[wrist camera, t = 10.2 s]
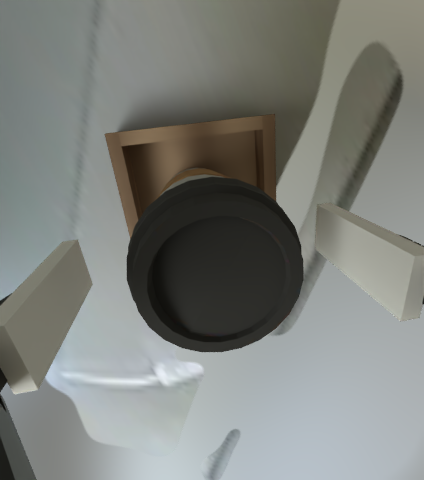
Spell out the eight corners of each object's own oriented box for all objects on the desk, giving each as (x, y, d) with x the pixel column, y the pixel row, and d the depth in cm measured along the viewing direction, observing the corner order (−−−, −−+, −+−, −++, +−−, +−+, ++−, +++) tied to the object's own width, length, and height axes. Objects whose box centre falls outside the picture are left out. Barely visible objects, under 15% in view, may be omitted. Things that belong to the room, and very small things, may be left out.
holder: (145, 265, 28) (141, 282, 25) (115, 133, 23) (104, 133, 20) (266, 247, 29) (276, 262, 26) (262, 116, 24) (274, 114, 21)
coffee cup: (137, 220, 25) (86, 327, 11) (176, 137, 23) (174, 141, 9) (214, 255, 27) (251, 380, 13) (256, 182, 25) (354, 243, 11)
